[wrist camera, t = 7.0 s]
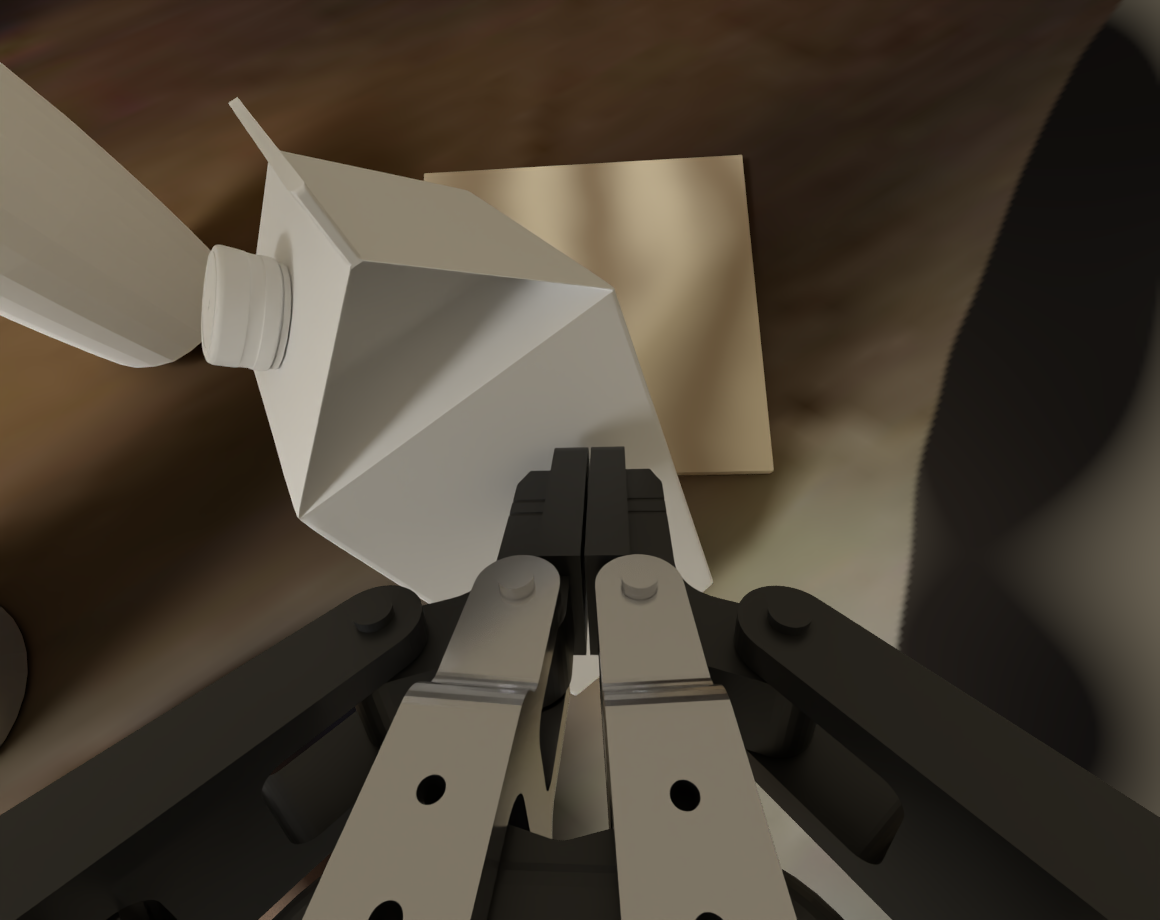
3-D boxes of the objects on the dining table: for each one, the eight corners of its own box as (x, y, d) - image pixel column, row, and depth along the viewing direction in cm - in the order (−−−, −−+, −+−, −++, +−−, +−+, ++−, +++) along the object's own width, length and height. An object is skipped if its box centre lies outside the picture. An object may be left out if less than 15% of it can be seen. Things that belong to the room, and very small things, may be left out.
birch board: (403, 480, 27) (398, 478, 26) (427, 181, 31) (424, 173, 31) (770, 473, 25) (773, 470, 25) (739, 163, 30) (741, 155, 29)
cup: (92, 284, 31) (-325, 34, 17) (227, 226, 31) (-75, -63, 18) (120, 407, 29) (-332, 234, 15) (265, 344, 29) (-47, 118, 15)
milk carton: (616, 479, 26) (376, 9, 11) (716, 584, 21) (534, 34, 7) (499, 570, 25) (77, 195, 10) (576, 699, 21) (32, 361, 6)
